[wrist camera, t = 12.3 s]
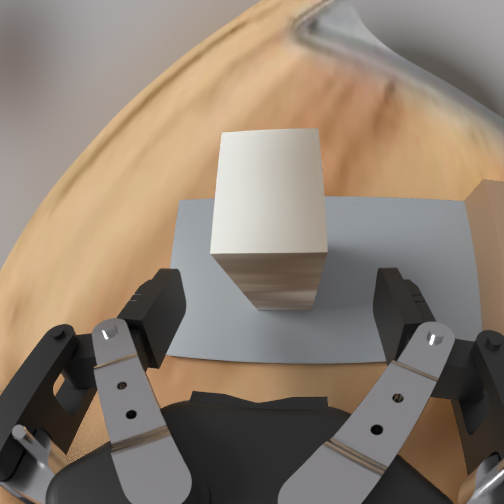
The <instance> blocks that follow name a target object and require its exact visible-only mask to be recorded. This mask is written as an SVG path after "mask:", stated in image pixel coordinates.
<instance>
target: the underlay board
mask: <svg viewBox="0 0 504 504" xmlns="http://www.w3.org/2000/svg"><path fill="white" fill-rule="evenodd" d="M324 197H325V212H326V229H327V248H328V253H327V257H326V260H325V264H324V268H323V272H322V275H321V279H320V282H319V286H318V289H317V293H316V296H315V300H314V303H313V307H312V310H257V309H256V308H255V307H254V306H253V304H252V303H251V302H250V301H249V300H248V298H247V297H246V296H245V295H244V294H243V293H242V291H241V290H240V289H239V288H238V287H237V285H236V284H235V283H234V282H233V281H232V279H231V278H230V277H229V276H228V275H227V274H226V272H225V271H224V270H223V269H222V268H221V266H220V265H219V264H218V263H217V261H216V260H215V259H214V258H213V257H212V255H211V254H210V248H211V236H212V224H213V213H214V203H215V199H193V200H180V201H179V207H178V214H177V220H176V227H175V234H174V242H173V249H172V257H171V265H170V269H179V271H180V274H181V278H182V283H183V288H184V293H185V297H186V313H185V316H184V318H183V320H182V322H181V324H180V326H179V328H178V330H177V332H176V334H175V336H174V338H173V341H172V343H171V345H170V347H169V349H168V351H167V353H166V355H170V356H179V357H189V358H200V359H211V360H225V361H240V362H261V363H298V364H326V363H364V362H383V361H386V359H385V355H384V351H383V347H382V344H381V340H380V336H379V333H378V329H377V326H376V322H375V319H374V315H373V298H374V292H375V285H376V277H377V271H378V269H379V268H391V267H397V268H398V270H399V272H400V274H401V276H402V277H403V279H409V280H411V281H412V282H413V283H414V284H416V285H417V286H418V288H419V289H420V291H421V293H422V296H423V297H424V299H425V300H426V302H427V304H428V306H429V308H430V310H431V312H432V314H433V316H434V318H435V319H436V321H437V322H438V323H442V324H444V325H446V326H447V327H449V328H450V329H451V330H452V331H453V333H454V336H455V338H456V339H461V340H468V341H475V340H476V337H477V335H478V334H479V333H480V332H482V331H484V330H493V331H496V332H499V333H501V334H502V335H503V336H504V182H501V181H493V180H485V179H483V180H482V181H481V182H480V184H479V185H478V186H477V187H476V188H475V189H474V191H473V192H472V193H471V194H470V195H469V196H468V197H467V199H466V200H465V201H452V200H435V199H414V198H387V197H332V196H324Z"/></svg>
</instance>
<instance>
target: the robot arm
mask: <svg viewBox="0 0 504 504" xmlns="http://www.w3.org/2000/svg"><path fill="white" fill-rule="evenodd" d="M185 313H186V297H185V293H184V288H183V283H182V278H181V274H180V271H179V269H164V268H161V269H159V271H158V272H157V273H156V275H155V276H154V277H153V279H152V280H148V281H147V282H145V283H144V284H142V285H141V286H140V287H139V288H138V289H137V291H136V292H135V295H133V296H132V297H131V299H130V301H128V303H127V304H126V306H125V307H124V308H123V310H122V311H121V312H120V314H119V315H118V316H117V318H112V319H108V320H105V321H102V322H101V323H99V324H98V325H97V326H96V327H95V328H94V329H93V331H92V333H91V334H82V335H76V333H75V331H74V329H73V327H72V326H71V325H67V324H62V325H58V326H55V327H53V328H51V329H50V330H49V331H48V332H47V333H46V334H45V335H44V336H43V338H42V339H41V340H40V341H39V343H38V344H37V345H36V347H35V348H34V349H33V351H32V352H31V353H30V355H29V356H28V357H27V359H26V360H25V361H24V363H23V364H22V366H21V367H20V368H19V370H18V371H17V372H16V374H15V375H14V377H13V378H12V380H11V381H10V382H9V384H8V385H7V387H6V388H5V390H4V391H3V393H2V394H1V396H0V486H1V487H2V488H3V489H5V490H6V491H7V492H9V493H10V494H11V495H13V496H15V497H17V498H18V499H20V500H21V501H23V502H24V503H25V504H454V503H453V502H452V501H451V500H450V499H449V498H448V497H447V496H446V495H445V494H444V493H443V492H441V491H440V490H439V489H438V488H437V487H435V486H434V485H433V484H432V483H431V482H429V481H428V480H427V479H426V478H425V477H424V476H422V475H421V474H420V473H419V472H418V471H417V470H416V469H414V468H413V467H412V466H411V465H410V464H409V463H407V462H406V461H405V460H404V459H403V458H402V457H401V456H400V455H398V453H399V451H400V450H401V448H402V446H403V445H404V443H405V442H406V440H407V438H408V436H409V435H410V433H411V431H412V430H413V428H414V426H415V424H416V423H417V421H418V419H419V417H420V415H421V413H422V412H423V410H424V408H425V406H426V404H427V402H428V400H429V398H430V397H436V398H444V399H451V402H452V406H453V410H454V414H455V417H456V421H457V425H458V430H459V434H460V438H461V443H462V447H463V452H464V457H465V462H466V467H467V473H468V477H466V478H465V479H464V481H463V482H462V484H461V486H460V488H459V498H458V503H457V504H504V336H503V335H502V334H501V333H499V332H496V331H493V330H484V331H482V332H480V333H479V334H478V335H477V337H476V340H475V341H468V340H461V339H456V338H455V336H454V333H453V331H452V330H451V329H450V328H449V327H447V326H446V325H444V324H442V323H438V322H437V321H436V319H435V318H434V316H433V314H432V312H431V310H430V308H429V306H428V304H427V302H426V300H425V299H424V297H423V296H422V293H421V291H420V289H419V288H418V286H417V285H416V284H414V283H413V282H412V281H411V280H409V279H403V277H402V276H401V274H400V272H399V270H398V268H397V267H391V268H379V269H378V271H377V277H376V285H375V292H374V298H373V315H374V319H375V322H376V326H377V329H378V333H379V336H380V340H381V344H382V347H383V351H384V355H385V359H386V363H387V366H388V367H387V368H386V370H385V371H384V373H383V374H382V375H381V377H380V378H379V380H378V381H377V382H376V384H375V385H374V387H373V388H372V389H371V391H370V392H369V393H368V395H367V396H366V397H365V398H364V400H363V401H362V402H361V404H360V405H359V406H358V407H357V409H356V410H355V411H354V412H353V414H352V415H351V414H350V413H348V412H345V411H343V410H340V409H337V408H333V407H328V401H327V397H291V398H286V399H280V400H275V401H269V402H262V403H255V402H251V401H247V400H243V399H240V398H236V397H233V396H229V395H226V394H218V393H207V392H198V391H193V392H192V395H191V398H190V400H188V401H182V402H177V403H174V404H171V405H168V406H166V407H163V408H162V409H161V407H160V405H159V403H158V400H157V398H156V396H155V393H154V391H153V389H152V386H151V384H150V381H149V379H148V377H147V374H146V371H147V369H148V367H149V368H157V369H159V368H160V366H161V364H162V362H163V360H164V357H165V355H166V353H167V351H168V349H169V347H170V345H171V343H172V341H173V338H174V336H175V334H176V332H177V330H178V328H179V326H180V324H181V322H182V320H183V318H184V316H185ZM60 373H61V374H62V375H63V377H64V379H65V381H64V382H63V384H62V386H61V387H60V389H59V391H58V392H57V394H56V396H54V394H53V385H54V383H55V381H56V380H57V378H58V376H59V375H60ZM97 390H98V394H99V398H100V403H101V407H102V411H103V415H104V419H105V423H106V427H107V430H108V434H109V437H110V441H109V442H107V443H105V444H104V445H102V446H100V447H99V448H97V449H95V450H94V451H92V452H90V453H88V454H87V455H85V456H83V457H81V458H80V459H78V460H76V461H74V462H73V463H71V464H69V465H67V458H66V454H67V452H68V450H69V448H70V445H71V443H72V441H73V439H74V437H75V435H76V433H77V430H78V428H79V426H80V424H81V422H82V420H83V418H84V416H85V414H86V412H87V410H88V408H89V406H90V404H91V402H92V400H93V398H94V396H95V394H96V392H97Z"/></svg>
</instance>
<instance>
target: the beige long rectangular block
mask: <svg viewBox="0 0 504 504" xmlns="http://www.w3.org/2000/svg"><path fill="white" fill-rule="evenodd" d="M327 253H328V248H327V229H326V212H325V197H324V184H323V172H322V161H321V151H320V141H319V132H318V128H311V129H274V130H255V131H240V132H227V133H222V137H221V145H220V154H219V163H218V173H217V182H216V192H215V203H214V213H213V224H212V236H211V248H210V254H211V255H212V257H213V258H214V259H215V260H216V261H217V263H218V264H219V265H220V266H221V268H222V269H223V270H224V271H225V272H226V274H227V275H228V276H229V277H230V278H231V279H232V281H233V282H234V283H235V284H236V285H237V287H238V288H239V289H240V290H241V291H242V293H243V294H244V295H245V296H246V297H247V298H248V300H249V301H250V302H251V303H252V304H253V306H254V307H255V308H256V309H257V310H312V307H313V303H314V300H315V296H316V293H317V289H318V286H319V282H320V279H321V275H322V272H323V268H324V264H325V260H326V257H327Z"/></svg>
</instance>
